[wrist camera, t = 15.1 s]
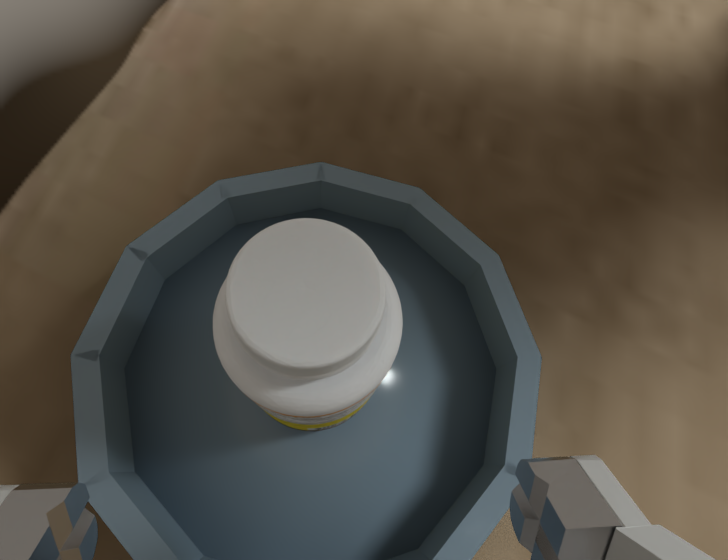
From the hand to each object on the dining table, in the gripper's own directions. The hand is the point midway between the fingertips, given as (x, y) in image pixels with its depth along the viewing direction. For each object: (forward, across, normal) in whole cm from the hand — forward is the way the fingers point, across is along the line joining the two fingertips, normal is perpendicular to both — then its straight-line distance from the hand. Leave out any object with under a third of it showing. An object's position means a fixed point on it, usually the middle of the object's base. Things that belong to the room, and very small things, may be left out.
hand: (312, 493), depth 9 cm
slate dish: (+12, 0, +5) cm, 13 cm away
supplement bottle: (+11, 0, +5) cm, 12 cm away
